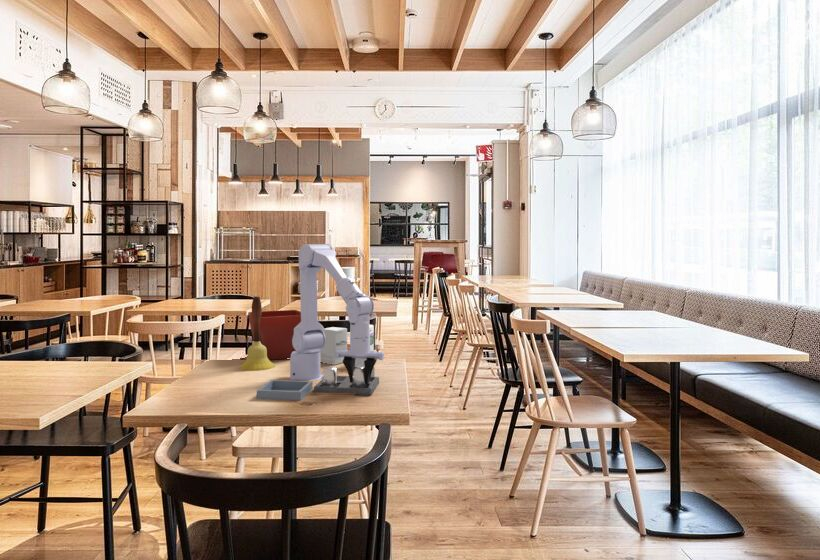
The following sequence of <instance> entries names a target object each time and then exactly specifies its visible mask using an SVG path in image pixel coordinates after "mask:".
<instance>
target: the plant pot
mask: <svg viewBox="0 0 820 560" xmlns="http://www.w3.org/2000/svg"><path fill="white" fill-rule="evenodd" d="M247 314H248V321H249V326H250V332H251V335H252V339H253V340H254V320H253V317H252V311H249V312H248V313H247ZM300 322H301V310H300V311H299V310H297V309H286V310H262V314H261V318H260V342H261V344H262V345H264V346H265V347H266V349H267V358H268V359H269V360H270V361H273V360H282V359H283V360H284V359H290V358H291V354H292V352H293V351H296V350H295V349H294V347H293V344H292V338H293V335H294V328H295V327H296V326H297V325H298V324H299V323H300Z"/></svg>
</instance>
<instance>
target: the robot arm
mask: <svg viewBox="0 0 820 560" xmlns="http://www.w3.org/2000/svg"><path fill="white" fill-rule="evenodd" d="M336 257H337V252H336V251H335V249H334V247H333V246H332V245H331V244H329V243H324V244H323V243H322V244H320V243H319V244H316V243H315V244H309V243H305V244H303V245H302V246H301V247H300V249H298V270H299V296H300V298H299V299H300V312H301V322H300V323H299V324H298V325H297V326H296V327H295V328H294V335H293V338H292V344H293V347H294V349H295V350H296V351H293V352H292V354H291V358H289V360H290V361H289V365H290V366H289V375H290V376H289V377H290V378H289V379H290V380H298V381H319V380H320V379H321V380H322V379H323V373H321V372H322V371H321V370H322V369H321V364H322V363H320V351H322V348H323V347H324V346H325V343H326V336H325V334H324V326H323V325H322V324H321V323H320V322H319V320H318V318H319V317H318V316H319V315H318V287H317V286H318V284H317V280H318V279H317V274H318V272H319V271H320V270H321V269H323V268H324V269H325V271H326V272H327V273H328V275H329V276H330V277H331V278H332V279H333V281H334V282H335V283H336V287H335V288H336V291H337V292H338V295H339V296H340V297H341V298H342V300H343V301H344V303H345V305H346V306H345V311H346V314H347V315H348V317H347V318H348V322H349V324H350V325H349V333H350V334H349V338H350V340H349V344H350V345H349V348H350V349H347V350H337V351H336V358H339V357H343V358H344V360H343V365H344V367H345V369H346V372H347V376H349V379H350V383H353V367H354V366H355V360H356V358H362V359H367V360H365V361H364V365H365V384H368V383H369V382H370V376H371V373H372V370H373V368H375V365H376V363H377V361H383V360H385V352H383V351H382V352H381V351H375V350H374V351H369V337H370V325H371V323H370V322H371V321H370V317H371V316H370V315H371V314H372V313H374V308H375V306H374V301H373V299H372V297H371V296H370V295H366V294H365V293H363V292H362V290H361V289H360V287H359V286H358V285H357V284H356V282H355V279H354V278H352V277H347V275H346V274H345V272H344V271H343V268H342V267H341V265H340V264H339V261H338V260H337V258H336ZM363 356H365V357H363Z"/></svg>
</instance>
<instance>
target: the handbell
mask: <svg viewBox="0 0 820 560" xmlns="http://www.w3.org/2000/svg"><path fill="white" fill-rule="evenodd" d="M251 303H252V304H251V312H252V317H253V320H254V339H253V343H252V345H249V346H248V348H247V355H246V356H247V358H246V359H245V360H244V362H243V363H242V364H241V365H240V366H239V369H240V370H242V371H248V372H249V371H251V372H253V371H254V372H259V371H266V370H271V369H274V368H275V367H276V365H275V363H273V362H272V360H269V359H268V358H267V349H266V347H265V346H264V345H262V344H261V342H260V318H261V314H262V311H263V309H262V303H261V297H260V296H253V298H252V302H251Z"/></svg>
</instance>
